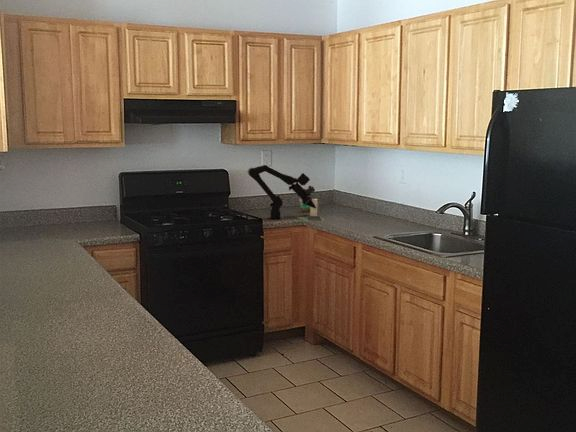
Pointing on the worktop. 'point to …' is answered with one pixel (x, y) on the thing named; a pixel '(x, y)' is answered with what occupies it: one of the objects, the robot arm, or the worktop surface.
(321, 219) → the board
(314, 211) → the plug
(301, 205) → the food container
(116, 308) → the worktop surface
